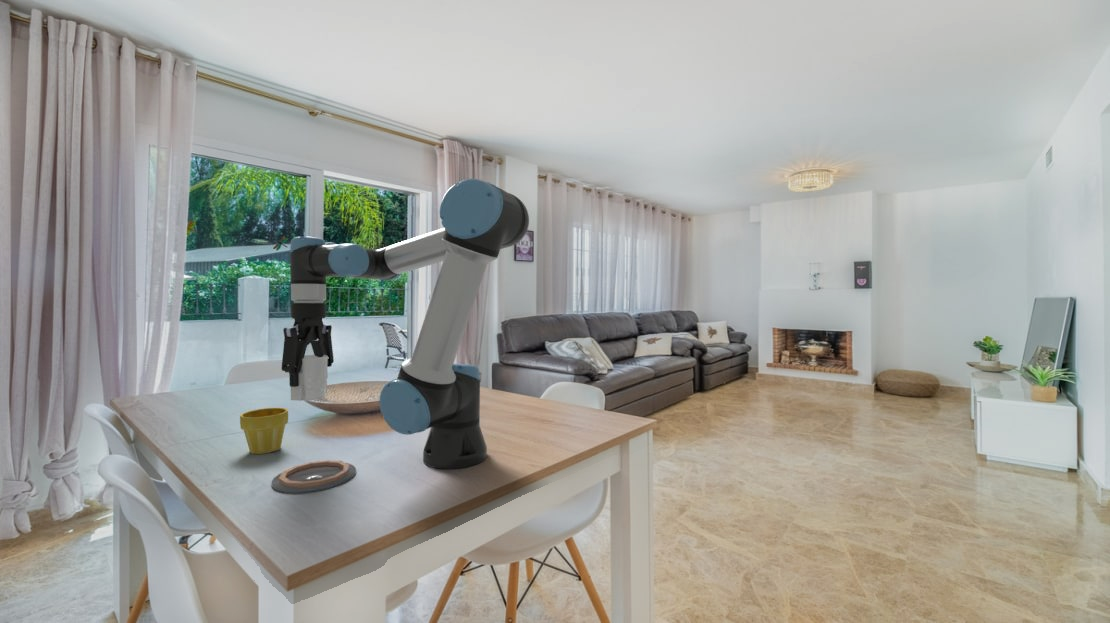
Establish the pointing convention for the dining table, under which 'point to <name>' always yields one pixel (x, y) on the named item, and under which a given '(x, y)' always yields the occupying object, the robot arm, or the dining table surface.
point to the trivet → (313, 476)
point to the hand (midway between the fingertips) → (309, 396)
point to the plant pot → (264, 429)
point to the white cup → (314, 376)
